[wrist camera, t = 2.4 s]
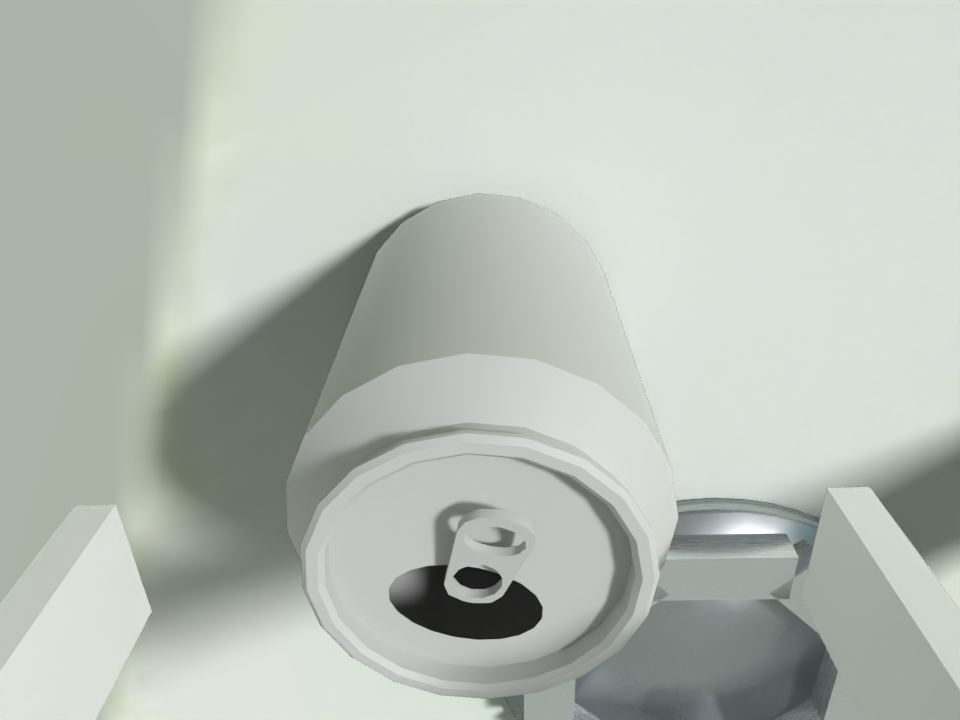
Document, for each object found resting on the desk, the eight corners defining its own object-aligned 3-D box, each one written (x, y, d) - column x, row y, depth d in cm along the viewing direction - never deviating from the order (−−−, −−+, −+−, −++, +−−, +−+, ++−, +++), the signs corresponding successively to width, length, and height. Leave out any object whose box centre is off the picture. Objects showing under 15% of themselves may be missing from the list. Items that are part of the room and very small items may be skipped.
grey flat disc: (493, 502, 27) (493, 540, 25) (938, 494, 26) (969, 532, 25) (502, 767, 35) (503, 810, 33) (847, 765, 34) (866, 808, 32)
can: (349, 375, 24) (238, 693, 14) (391, 155, 21) (287, 358, 10) (564, 424, 25) (613, 758, 15) (640, 219, 22) (778, 469, 11)
